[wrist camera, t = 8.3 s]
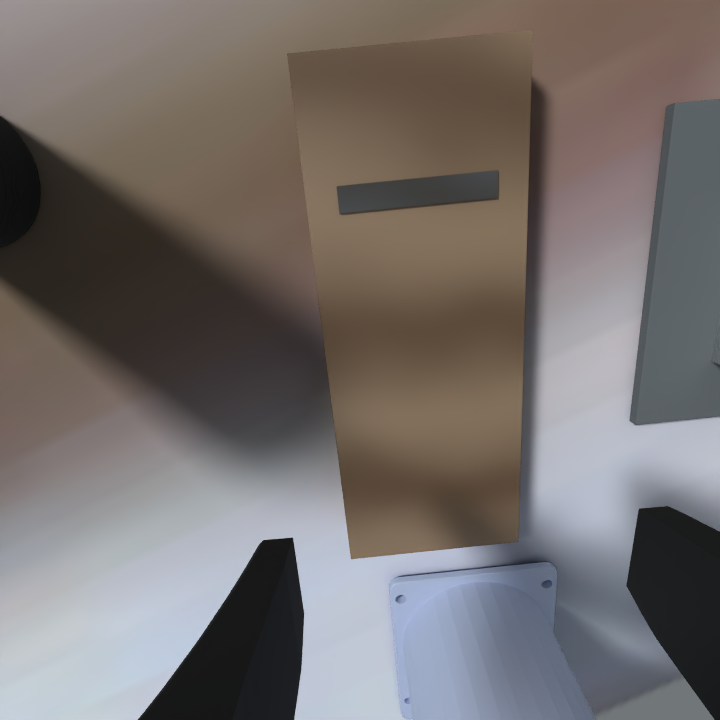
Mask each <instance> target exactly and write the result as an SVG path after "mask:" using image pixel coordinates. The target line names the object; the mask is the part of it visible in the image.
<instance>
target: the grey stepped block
mask: <svg viewBox="0 0 720 720" xmlns="http://www.w3.org/2000/svg"><path fill="white" fill-rule="evenodd" d="M711 361H712V362H715V363H717V364H720V312H719V318H718V323H717V329H716V334H715V340H714V346H713V351H712V357H711Z"/></svg>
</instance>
